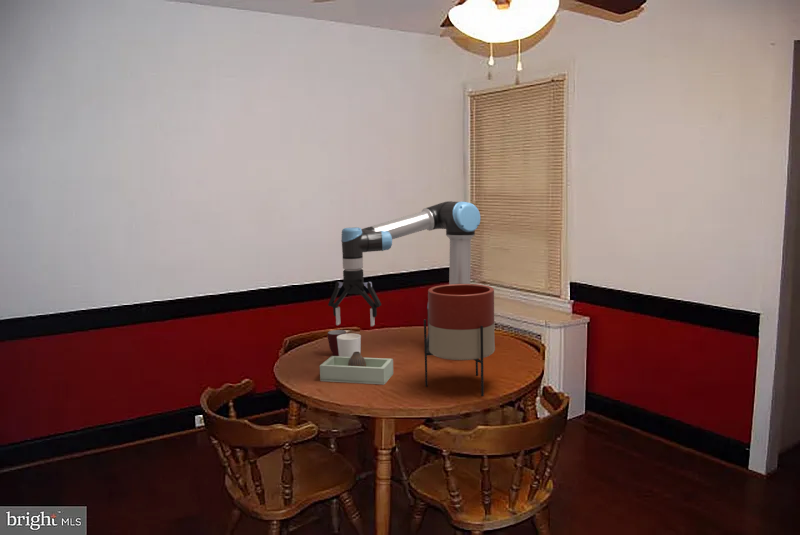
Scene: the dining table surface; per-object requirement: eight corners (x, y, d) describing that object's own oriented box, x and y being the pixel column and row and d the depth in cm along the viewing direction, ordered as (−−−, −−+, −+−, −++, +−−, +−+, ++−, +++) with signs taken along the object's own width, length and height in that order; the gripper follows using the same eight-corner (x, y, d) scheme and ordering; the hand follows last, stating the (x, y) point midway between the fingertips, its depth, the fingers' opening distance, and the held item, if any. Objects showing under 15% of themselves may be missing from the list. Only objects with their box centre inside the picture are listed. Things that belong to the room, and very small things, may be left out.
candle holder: (365, 362, 261) (364, 334, 259) (356, 369, 252) (355, 340, 250) (344, 360, 264) (342, 332, 262) (334, 367, 255) (332, 338, 253)
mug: (353, 351, 277) (352, 329, 276) (352, 357, 269) (351, 334, 268) (329, 352, 277) (328, 330, 276) (327, 357, 270) (326, 334, 268)
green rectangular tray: (393, 373, 245) (392, 358, 244) (384, 384, 232) (383, 368, 231) (332, 370, 251) (331, 356, 250) (320, 381, 238) (319, 365, 237)
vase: (348, 372, 245) (347, 350, 243) (366, 371, 245) (365, 349, 244) (348, 377, 238) (347, 355, 237) (366, 377, 238) (365, 354, 237)
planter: (425, 376, 241) (422, 284, 236) (491, 374, 240) (490, 283, 235) (425, 397, 217) (423, 296, 212) (498, 396, 217) (498, 294, 212)
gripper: (388, 267, 236) (389, 323, 239) (325, 267, 242) (327, 321, 245) (382, 270, 229) (384, 328, 232) (318, 270, 235) (320, 326, 238)
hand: (355, 324), depth 239 cm, fingers open, 13 cm apart
